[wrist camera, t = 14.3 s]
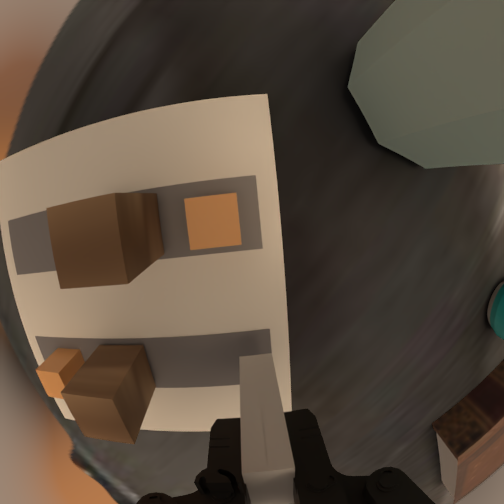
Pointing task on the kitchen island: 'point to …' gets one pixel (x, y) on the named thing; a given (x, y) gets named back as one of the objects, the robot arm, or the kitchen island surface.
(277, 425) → the robot arm
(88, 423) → the tab
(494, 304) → the beverage can
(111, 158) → the switch board
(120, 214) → the tab
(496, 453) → the book
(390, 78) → the water bottle
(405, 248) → the kitchen island surface
